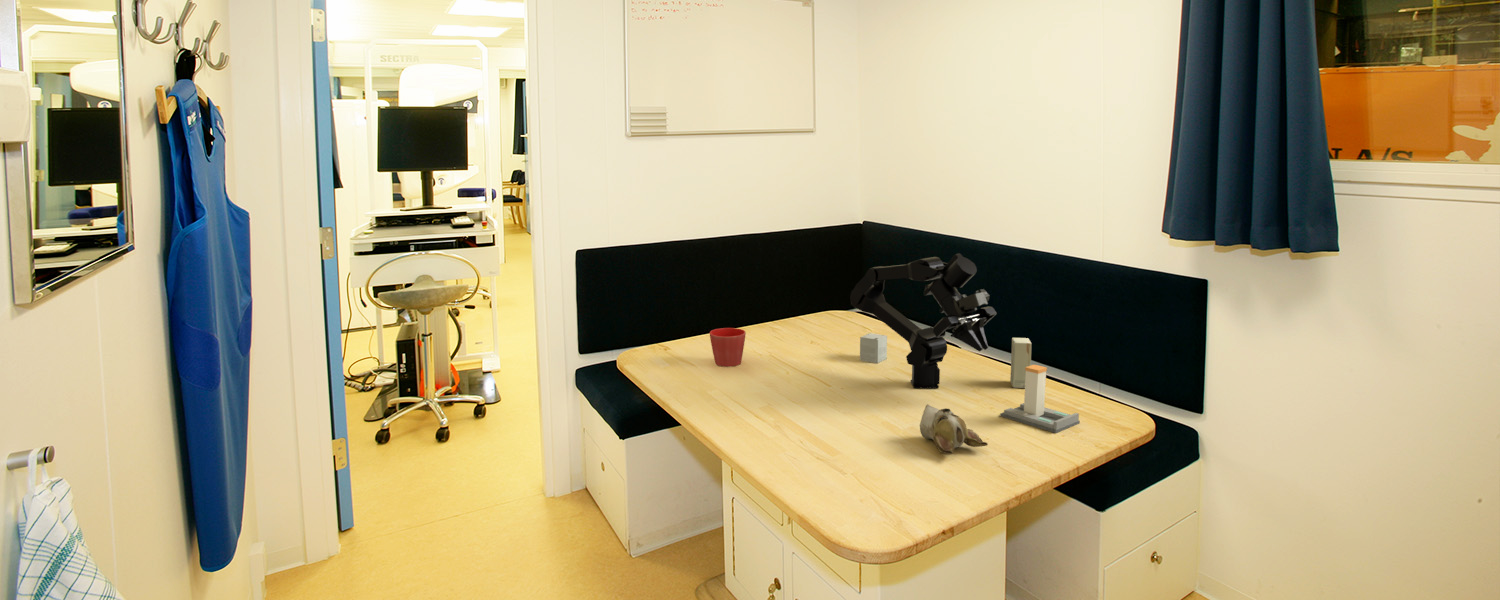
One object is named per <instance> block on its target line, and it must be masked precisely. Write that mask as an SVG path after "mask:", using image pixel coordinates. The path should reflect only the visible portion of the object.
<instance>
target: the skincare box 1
mask: <svg viewBox="0 0 1500 600" xmlns="http://www.w3.org/2000/svg"><path fill="white" fill-rule="evenodd" d="M859 341H860V342H859V361H861V362H865V363H873V364H880V363H881V362H883V361H885V360H886V359H887V358H888V357H887V356H888V355H887V354H888V353H887V352H888V335H886V334H878V333H872V332H869V333H866V334H865V335H862V336H860V338H859Z"/></svg>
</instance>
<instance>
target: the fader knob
mask: <svg viewBox="0 0 1500 600" xmlns="http://www.w3.org/2000/svg"><path fill="white" fill-rule="evenodd" d="M1025 371H1026V378H1025V388H1024V398H1023V399H1024V400H1023V401H1024V402H1023V403H1024V412H1026V413H1029V414H1033V415H1036V416H1041V415H1044V407H1045V400H1046V399H1045V398H1046V380H1047V371H1048V367H1046V366H1042V365H1037V364H1031V366H1028V367H1025Z"/></svg>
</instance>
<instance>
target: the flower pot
mask: <svg viewBox="0 0 1500 600" xmlns="http://www.w3.org/2000/svg"><path fill="white" fill-rule="evenodd" d="M746 334H747V332H746V330H744V329H742V328H737V327H736V328H735V327H723V328H722V327H721V328H715V329H712V330H710V331H709V337H710V339H709V340H710V343H711V350H712V355H713V360H714V364H715V365H716V366H718V367H723V368H724V367H725V368H733V367H737V366H740V365H741V363H742V360H743V354H744V348H745V342H746Z"/></svg>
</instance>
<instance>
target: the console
mask: <svg viewBox="0 0 1500 600" xmlns="http://www.w3.org/2000/svg"><path fill="white" fill-rule="evenodd" d="M999 416H1000V417H1002V418H1005V419H1009V420H1012V421H1014V422H1018V423H1021V424H1024V425H1027V426H1031V427H1034V428H1037V429H1041V430H1043V431H1048V432H1051V433H1053V434H1054V433H1055V434H1058V433H1059V432H1062V431H1065V430H1067V429H1069V428H1071V427H1074V426H1076V425H1079V424H1080V423H1081V421H1080V420H1079V417H1080V414H1079V413H1078V412H1075V413H1072V414H1070V413H1066V412H1063V411H1058V410H1056V409H1052V408H1049V407H1045V406H1044V415H1041V416H1036V415H1033V414H1029V413H1026V412H1024V402H1023V403H1020V405H1019V406H1017V407H1014V408H1012V407H1009V408H1006V409H1004V410H1003V412H1001V413H1000V414H999Z"/></svg>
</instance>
